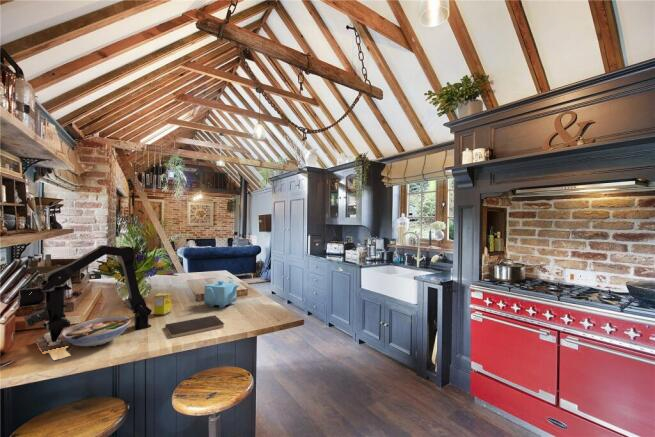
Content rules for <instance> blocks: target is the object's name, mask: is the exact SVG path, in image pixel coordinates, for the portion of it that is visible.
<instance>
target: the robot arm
mask: <svg viewBox="0 0 655 437" xmlns="http://www.w3.org/2000/svg"><path fill="white" fill-rule="evenodd" d="M135 252H136V251H135V249H134V248H133V247H131V246H125V245H121V246H119V247H117V246H108V245H104V244H102V245H98V246H97V247H96V248H95V249H93V250H91V251H89V252H87V253H86V254H84V255H82V256H81V257H78V258H77V259H76V260H74V261H71V262H70V263H69V264H66V265H63V266H59V267H57V268H54V269H52V270H50V271H48V272H47V273H46V274H45V277H44V279H43V281H42V282H40V283H39V285H38V286H37V287H31V288H20V289H19V290H18V291H19V292H18V296H17V308H19V309H20V308H28V307H34V306H40V305H41V303H43V302H44V305H43V306H42V309H41V310H39V311H35V312H33V313H31V314H28V315H26V316H24V317H23V319H24V322H25V323H26V325H27V327H32V326H35V325H36V324H39V323H41V322H45V323H43V324H42V325H43V327H44V328H45V329H46V330H48V333H50V336H51V340H52V342H56V341H57V339H58V337H59V335H60V333H62V332H63V331H64V330H63V329H64V328H65V329H66V328H69V327H71V321H70V320H69V319H68V318H66V314H65V309H66V307H67V303H65V301H66V300H65V298H66V291H69V290H70V291H71V290H72V287H71V286H69V285H68V284H67V283H66V282H68V280H70V279H71V278H72V277H73V276H74V275H75V274H77V272H79V271H80V270H83V269H84V268H86V267H87V266H89V265H90V264H92V263H94V262H96V261H97V260H99V259H101V258H102V257H103V256H106V255H107V256H116V257H117V259H118V261H119V263H120V264H121V266H122V272H123V274H124V279H125V285H126V287H127V292H128V293H127V294H128V295H127V296H128V297H127V298H125V299H124V302H125V304H126V305H125V308H127V309H128V310H129V311H131V313H132V314H133V315H134V317H135V316H137V317H135V318H134V319H133V320H134V324H133V325H131V328H132V329H133V330H135V331H138V330H142V329H146V328H150V327H152V325H151V324H150V323H149V318H150V317H149V316H151V314H152V312H153V311H152V309H150V307H148V306H147V303H146V301H145V299H144V297H143V295H142V294H141V292H140V288H139V283H138V279H137V274H136V270H135V264H134V263H135V259H136V253H135ZM31 292H32V293H31ZM30 293H31V294H30ZM29 294H30V295H29Z"/></svg>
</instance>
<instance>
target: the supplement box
mask: <svg viewBox="0 0 655 437" xmlns="http://www.w3.org/2000/svg"><path fill="white" fill-rule="evenodd" d="M171 311H172V293H171V292H159V293H157V294H154V296H153V315H154V316H159V315H160V316H162V317H163V316H166V315H168V314H169V315H170V313H171ZM160 316H159V317H160Z"/></svg>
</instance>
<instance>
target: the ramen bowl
mask: <svg viewBox="0 0 655 437" xmlns="http://www.w3.org/2000/svg"><path fill="white" fill-rule="evenodd" d="M135 317H137V316H135V315H134V316H132V317H129V316H126V315H114V316H113V315H112V316H104V317H100V318H93V319H90V320H89V319H88V320H86V321H82V322H80V323H77V324H74V325H72V326H71V325H70V326H69V327H66V328H65V329H64V330H62V332H61V333H62V334H61V335H62V336H63V337H64V338H65V339H66V340H67V341H69V342H70V344H72V345H73V346H78V347H89V346H94V347H97V346H96V345H100V346H102V344H103V345H105V343H106V344H107V342H108V343H109V342H110V341H112V340H114V339H116V338H118V337H119V336H121V335H122V333H124V332H125V331H126V330H127V328H128V326H130V322H131V320H132V319H135Z"/></svg>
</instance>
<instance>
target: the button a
mask: <svg viewBox="0 0 655 437" xmlns="http://www.w3.org/2000/svg"><path fill="white" fill-rule="evenodd" d="M56 344H61V340H57V341H56V342H52V341H51V342H49V346H52V345H56Z"/></svg>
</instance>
